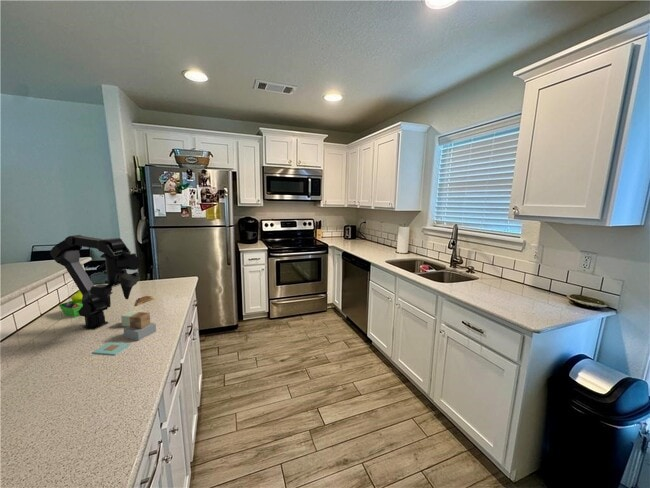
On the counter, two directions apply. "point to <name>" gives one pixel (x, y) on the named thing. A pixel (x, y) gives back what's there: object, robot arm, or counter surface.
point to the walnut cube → (139, 320)
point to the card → (111, 348)
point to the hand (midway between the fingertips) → (118, 302)
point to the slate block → (139, 332)
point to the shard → (144, 299)
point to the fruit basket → (72, 305)
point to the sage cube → (127, 318)
